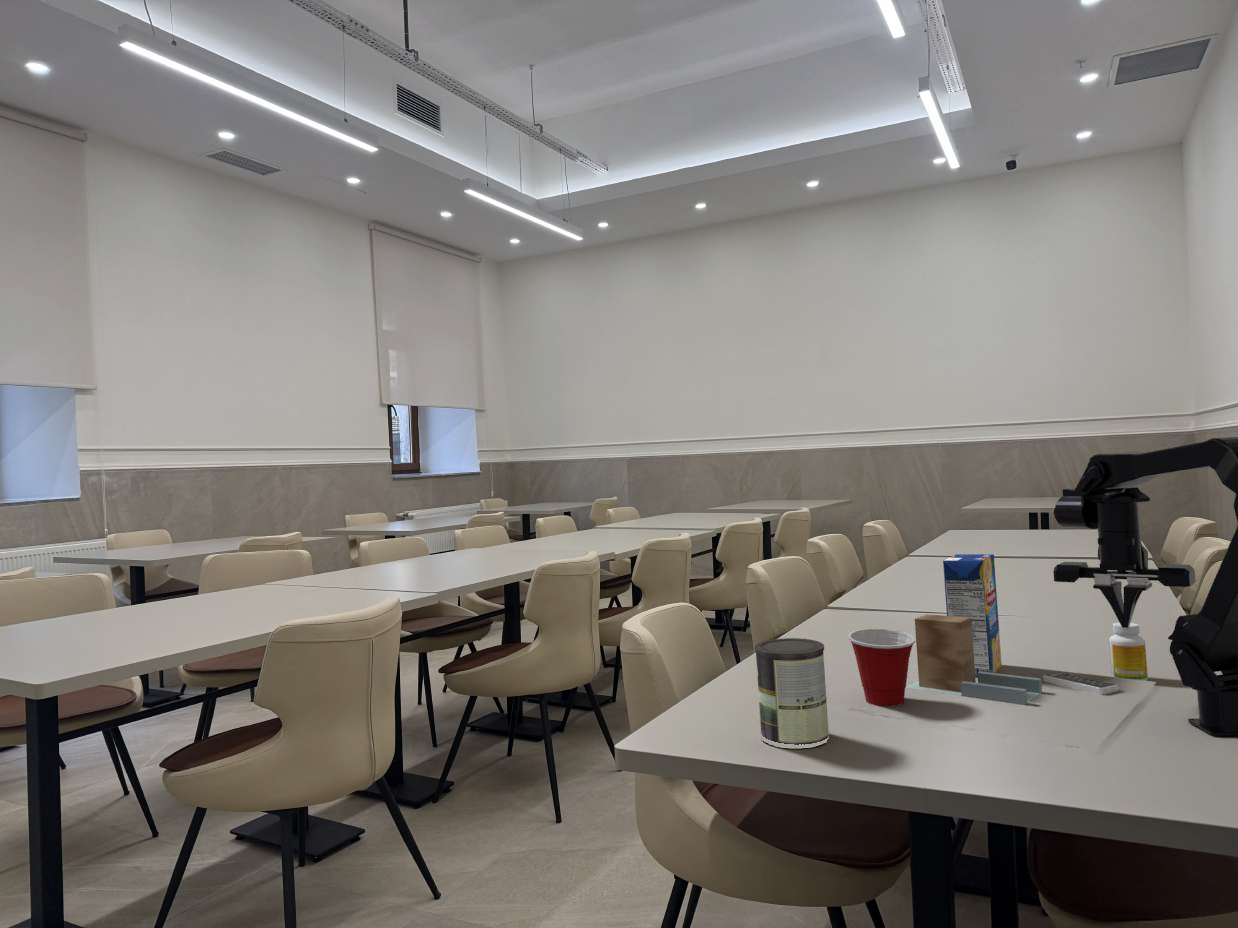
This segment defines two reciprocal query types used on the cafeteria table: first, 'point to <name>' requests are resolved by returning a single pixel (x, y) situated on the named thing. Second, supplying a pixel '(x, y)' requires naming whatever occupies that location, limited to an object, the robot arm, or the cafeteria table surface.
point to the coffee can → (792, 690)
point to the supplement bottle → (1128, 653)
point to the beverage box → (975, 604)
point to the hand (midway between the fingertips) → (1125, 627)
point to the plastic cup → (882, 663)
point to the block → (944, 651)
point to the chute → (995, 688)
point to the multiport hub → (1081, 683)
